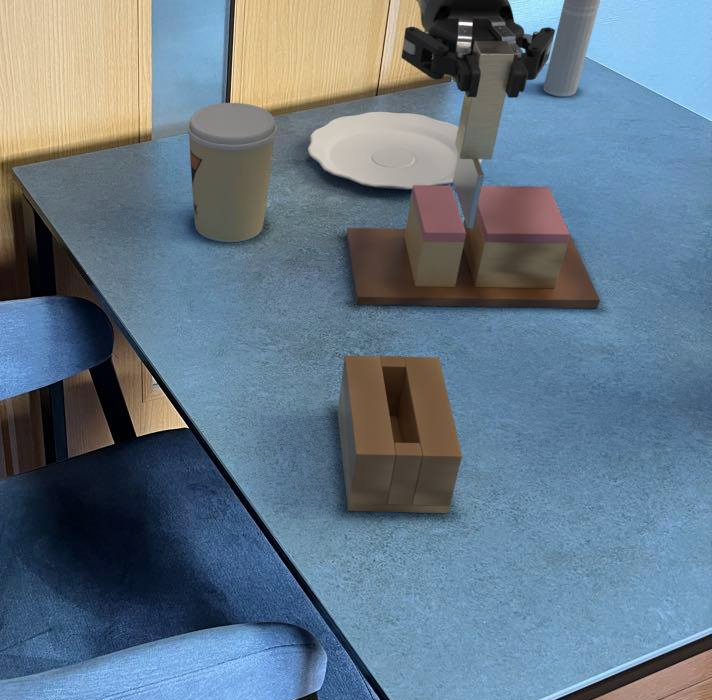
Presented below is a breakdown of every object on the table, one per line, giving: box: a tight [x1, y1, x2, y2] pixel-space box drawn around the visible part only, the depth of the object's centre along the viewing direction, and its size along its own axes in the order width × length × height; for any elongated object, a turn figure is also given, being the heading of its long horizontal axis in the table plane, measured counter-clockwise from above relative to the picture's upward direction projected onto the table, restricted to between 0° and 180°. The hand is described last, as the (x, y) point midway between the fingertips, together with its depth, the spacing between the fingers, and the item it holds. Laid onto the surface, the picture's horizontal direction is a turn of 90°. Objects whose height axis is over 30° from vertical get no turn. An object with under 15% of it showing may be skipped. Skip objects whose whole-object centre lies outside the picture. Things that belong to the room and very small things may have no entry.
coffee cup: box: [187, 102, 278, 243], centre depth 112 cm, size 9×9×12 cm
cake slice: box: [405, 184, 466, 287], centre depth 106 cm, size 4×10×6 cm, turn 177°
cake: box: [346, 185, 601, 309], centre depth 106 cm, size 24×14×7 cm, turn 87°
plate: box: [307, 111, 483, 190], centre depth 126 cm, size 21×21×2 cm
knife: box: [452, 41, 514, 228], centre depth 91 cm, size 3×9×14 cm, turn 177°
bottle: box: [543, 0, 601, 98], centre depth 134 cm, size 4×4×20 cm
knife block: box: [337, 355, 463, 514], centre depth 85 cm, size 8×13×6 cm, turn 177°
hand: (495, 85), depth 85 cm, fingers closed on knife, 3 cm apart
